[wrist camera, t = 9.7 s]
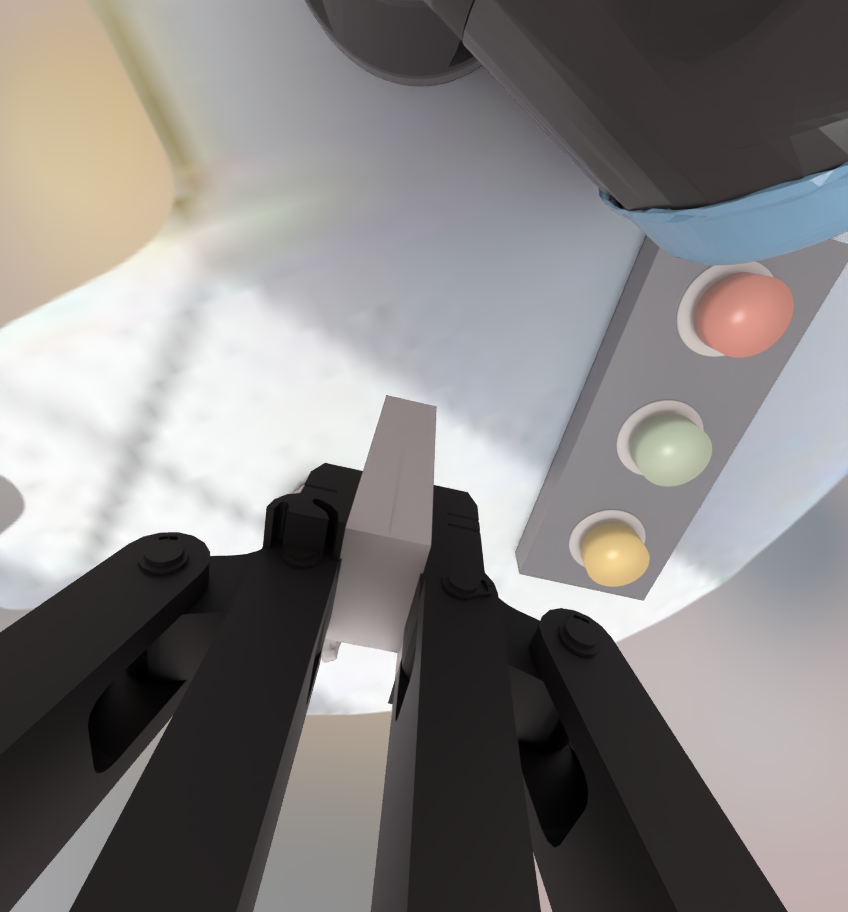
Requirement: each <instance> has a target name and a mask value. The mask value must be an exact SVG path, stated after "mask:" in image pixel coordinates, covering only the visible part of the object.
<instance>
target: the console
mask: <svg viewBox="0 0 848 912" xmlns="http://www.w3.org/2000/svg"><path fill="white" fill-rule="evenodd" d="M847 262H848V244H846V243H842V242H839V241H835V240H832V239H828V240H825V241H823V242H820V243H817V244H815V245H812V246H809V247H806V248H803V249H800V250H797V251H794V252H791V253H788V254H784V255H780V256H777V257H773V258H769V259H764V260H760V261H755V262H749V263H743V264H735V265H714V266H712V265H704V264H701V263H694V262H691V261H689V260H686V259H679V258H675V257H674V256H672V255H670V254H668V253H666V252H665V251H664V250H662V249H661V248H660V247H659V246H658V245H657V244H656V243H654V242H653V241H652V240H651V239H650V238H649V237H648V236H647V235H646V238H645V240H644V243H643V245H642V247H641V250H640V252H639V255H638V257H637V259H636V262H635V264H634V267H633V269H632V272H631V274H630V276H629V279H628V281H627V284H626V286H625V288H624V291H623V293H622V296H621V298H620V301H619V303H618V305H617V308H616V310H615V313H614V315H613V317H612V320H611V322H610V325H609V327H608V330H607V332H606V334H605V337H604V339H603V342H602V344H601V347H600V349H599V351H598V354H597V356H596V359H595V361H594V363H593V366H592V368H591V371H590V373H589V376H588V378H587V380H586V383H585V385H584V388H583V390H582V392H581V395H580V397H579V400H578V402H577V405H576V407H575V409H574V412H573V414H572V417H571V419H570V421H569V424H568V426H567V429H566V431H565V434H564V436H563V438H562V441H561V443H560V446H559V448H558V450H557V453H556V455H555V458H554V460H553V463H552V465H551V467H550V470H549V472H548V475H547V477H546V479H545V482H544V484H543V487H542V489H541V492H540V494H539V496H538V499H537V501H536V504H535V506H534V509H533V511H532V513H531V516H530V518H529V521H528V523H527V525H526V528H525V530H524V533H523V535H522V538H521V540H520V542H519V545H518V547H517V550H516V552H515V555H516V559H517V564H518V569H519V574H523V575H527V576H532V577H536V578H541V579H546V580H550V581H555V582H560V583H564V584H569V585H574V586H578V587H583V588H587V589H592V590H597V591H601V592H606V593H611V594H615V595H620V596H624V597H629V598H634V599H638V600H643V601H644V599H645V597H646V596H647V594H648V592H649V591H650V589H651V587H652V586H653V584H654V582H655V581H656V579H657V577H658V576H659V574H660V572H661V571H662V569H663V568H664V566H665V564H666V563H667V561H668V559H669V558H670V556H671V554H672V553H673V551H674V549H675V548H676V546H677V544H678V543H679V541H680V539H681V538H682V536H683V534H684V533H685V531H686V529H687V528H688V526H689V524H690V523H691V521H692V519H693V518H694V516H695V514H696V513H697V511H698V509H699V508H700V506H701V504H702V503H703V501H704V499H705V498H706V496H707V495H708V493H709V491H710V490H711V488H712V486H713V485H714V483H715V481H716V480H717V478H718V476H719V475H720V473H721V471H722V470H723V468H724V466H725V465H726V463H727V461H728V460H729V458H730V456H731V455H732V453H733V451H734V450H735V448H736V446H737V445H738V443H739V441H740V440H741V438H742V436H743V435H744V433H745V431H746V430H747V428H748V426H749V425H750V423H751V422H752V420H753V418H754V417H755V415H756V413H757V412H758V410H759V408H760V407H761V405H762V403H763V402H764V400H765V398H766V397H767V395H768V393H769V392H770V390H771V388H772V387H773V385H774V383H775V382H776V380H777V378H778V377H779V375H780V373H781V372H782V370H783V368H784V367H785V365H786V363H787V362H788V360H789V358H790V357H791V355H792V353H793V352H794V350H795V349H796V347H797V345H798V344H799V342H800V340H801V339H802V337H803V335H804V334H805V332H806V330H807V329H808V327H809V325H810V324H811V322H812V320H813V319H814V317H815V315H816V314H817V312H818V310H819V309H820V307H821V305H822V304H823V302H824V300H825V299H826V297H827V295H828V294H829V292H830V290H831V289H832V287H833V285H834V284H835V282H836V280H837V279H838V277H839V276H840V274H841V272H842V271H843V269H844V267H845V266H846V264H847ZM739 272H750V273H755V274H760V275H765V276H770V277H774V278H776V279H779V280H780V281H782V282H783V283H784V284H786V285H787V287H788V288H789V290H790V291H791V294H792V296H793V301H794V309H793V315H792V318H791V321H790V324H789V325H788V327H787V329H786V331H785V332H784V334H783V335H782V336H781V337H780V338H779V339H778V340H777V341H776V342H775V343H774V344H773V345H772V346H771V347H769V348H768V349H766V350H764V351H763V352H761V353H758V354H756V355H753V356H749V357H743V358H734V357H729V356H726V355H724V354H722V353H720V352H718V351H716V350H714V349H712V348H710V347H709V346H707V345H705V344H704V343H703V342H702V341H701V340H700V339H699V338H698V336H697V334H696V332H695V328H694V314H695V310H696V307H697V305H698V302H699V301H700V299H701V297H702V296H703V294H704V293H705V292H706V291H707V290H708V288H710V287H711V286H712V285H713V284H714V283H715V282H717V281H718V280H720V279H722V278H723V277H726V276H728V275H731V274H734V273H739ZM663 414H679V415H683V416H685V417H687V418H689V419H690V420H691V421H693V422H694V423H695V424H696V425H697V426H698V427H700V428H701V429H702V430H703V431H704V432H705V433H706V434H707V435H708V436H709V438H710V440H711V444H712V455H711V458H710V461H709V463H708V465H707V466H706V468H705V469H704V470H703V471H702V472H701V473H700V474H699V475H698V476H697V477H696V478H694V479H692V480H691V481H689V482H687V483H684V484H681V485H678V486H670V487H666V486H659V485H656V484H654V483H652V482H650V481H648V480H647V479H646V478H645V477H644V475H643V474H642V473H641V471H640V470H639V469H638V467H637V466H636V465H635V463H634V462H633V460H632V458H631V455H630V444H631V440H632V438H633V436H634V434H635V433H636V431H637V430H638V429H639V428H640V426H642V425H643V424H644V423H645V422H647V421H648V420H650V419H652V418H654V417H656V416H659V415H663ZM610 523H619V524H624V525H627V526H629V527H631V528H633V529H634V530H635V531H636V532H637V534H638V535H639V537H640V539H641V540H642V542H643V544H644V545H645V547H646V549H647V550H648V553H649V557H650V560H649V565H648V567H647V569H646V571H645V572H644V574H643V575H642V576H641V577H640V578H638V579H637V580H635V581H634V582H632V583H629V584H627V585H623V586H618V587H609V586H604V585H600V584H598V583H596V582H595V581H593V580H592V579H591V578H590V576H589V575H588V573H587V570H586V568H585V565H584V563H583V560H582V558H581V555H580V546H581V543H582V541H583V539H584V537H585V536H586V535H587V534H588V533H589V532H590V531H592V530H593V529H595V528H597V527H599V526H601V525H605V524H610Z"/></svg>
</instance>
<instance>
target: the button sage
mask: <svg viewBox="0 0 848 912" xmlns="http://www.w3.org/2000/svg"><path fill="white" fill-rule="evenodd" d="M630 455H631V458H632V460H633V462H634V463H635V465H636V466H637V467H638V469H639V470H640V471H641V473H642V474H643V475H644V477H645V478H646V479H647V480H648V481H650V482H652V483H654V484H656V485H659V486H666V487H670V486H678V485H681V484H684V483H687V482H689V481H691V480H692V479H694V478H696V477H697V476H698V475H699V474H700V473H701V472H702V471H703V470H704V469H705V468H706V466H707V465H708V463H709V461H710V458H711V455H712V444H711V440H710V438H709V436H708V435H707V434H706V433H705V432H704V431H703V430H702V429H701V428H700V427H698V426H697V425H696V424H695V423H694V422H693V421H691V420H690V419H689V418H687V417H685V416H683V415H679V414H663V415H659V416H656V417H654V418H652V419H650V420H648V421H647V422H645V423H644V424H643V425H642V426H640V428H639V429H638V430H637V431H636V433H635V434H634V436H633V438H632V440H631V444H630Z"/></svg>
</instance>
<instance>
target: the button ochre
mask: <svg viewBox="0 0 848 912" xmlns="http://www.w3.org/2000/svg"><path fill="white" fill-rule="evenodd" d="M580 555H581V558H582V560H583V563H584V565H585V568H586V570H587V573H588V575H589V576H590V578H591V579H592V580H593V581H595V582H596V583H598V584H600V585H604V586H609V587H618V586H623V585H627V584H629V583H632V582H634V581H635V580H637V579H638V578H640V577H641V576H642V575H643V574H644V572H645V571H646V569H647V567H648V565H649V560H650V557H649V553H648V550H647V549H646V547H645V545H644V544H643V542H642V540H641V539H640V537H639V535H638V534H637V532H636V531H635V530H634V529H633V528H631V527H629V526H627V525H624V524H619V523H610V524H605V525H601V526H599V527H597V528H595V529H593V530H592V531H590V532H589V533H588V534H587V535H586V536H585V537H584V539H583V541H582V543H581V546H580Z"/></svg>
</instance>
